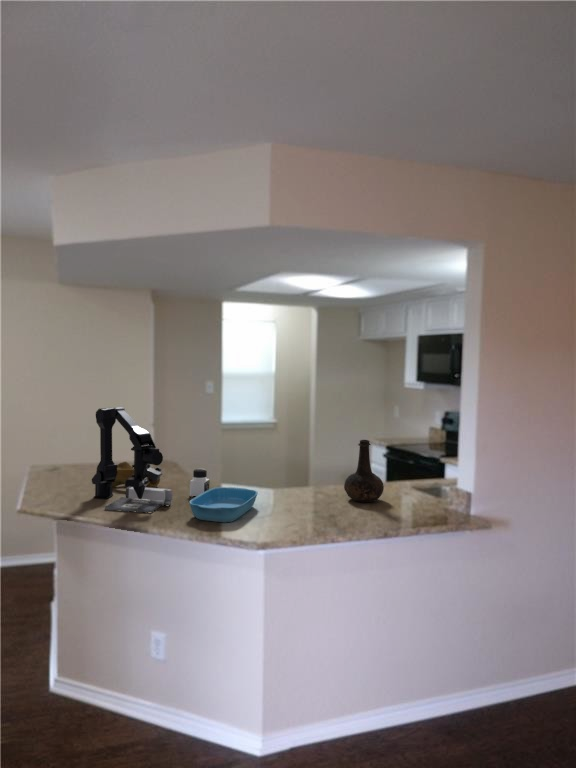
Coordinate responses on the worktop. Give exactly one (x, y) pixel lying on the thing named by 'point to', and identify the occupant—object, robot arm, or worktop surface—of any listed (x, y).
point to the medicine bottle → (199, 482)
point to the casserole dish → (223, 503)
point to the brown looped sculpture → (129, 475)
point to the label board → (136, 504)
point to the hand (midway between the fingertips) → (140, 498)
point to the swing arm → (151, 494)
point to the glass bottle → (364, 478)
